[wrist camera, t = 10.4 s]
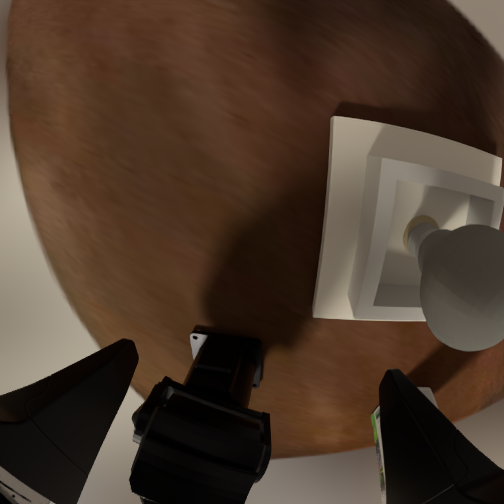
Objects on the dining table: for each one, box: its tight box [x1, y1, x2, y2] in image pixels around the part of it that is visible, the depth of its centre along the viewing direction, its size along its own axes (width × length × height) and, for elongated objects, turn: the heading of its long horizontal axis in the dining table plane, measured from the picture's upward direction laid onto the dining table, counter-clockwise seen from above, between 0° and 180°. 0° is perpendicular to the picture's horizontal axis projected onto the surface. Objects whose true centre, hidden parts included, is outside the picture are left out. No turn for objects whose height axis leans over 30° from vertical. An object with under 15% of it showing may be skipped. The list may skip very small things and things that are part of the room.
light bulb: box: [407, 222, 504, 351], centre depth 11 cm, size 6×6×10 cm
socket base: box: [312, 116, 504, 321], centre depth 15 cm, size 14×14×4 cm
